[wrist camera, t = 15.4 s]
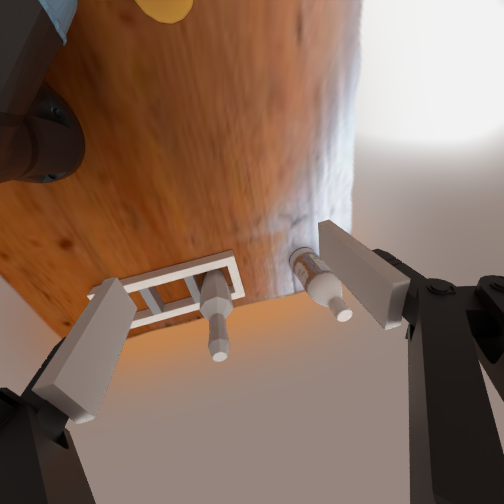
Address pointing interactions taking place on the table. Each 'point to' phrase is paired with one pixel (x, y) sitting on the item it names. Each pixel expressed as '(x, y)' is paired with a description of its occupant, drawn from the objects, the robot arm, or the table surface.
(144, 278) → the white rectangular compartment rack
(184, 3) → the cup
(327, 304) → the bath foam
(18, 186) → the table surface
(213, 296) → the low poly bottle
